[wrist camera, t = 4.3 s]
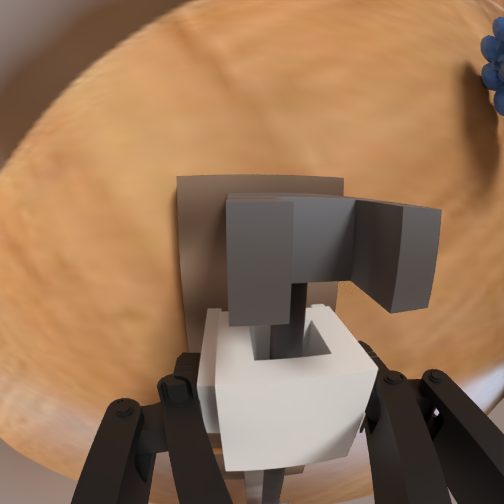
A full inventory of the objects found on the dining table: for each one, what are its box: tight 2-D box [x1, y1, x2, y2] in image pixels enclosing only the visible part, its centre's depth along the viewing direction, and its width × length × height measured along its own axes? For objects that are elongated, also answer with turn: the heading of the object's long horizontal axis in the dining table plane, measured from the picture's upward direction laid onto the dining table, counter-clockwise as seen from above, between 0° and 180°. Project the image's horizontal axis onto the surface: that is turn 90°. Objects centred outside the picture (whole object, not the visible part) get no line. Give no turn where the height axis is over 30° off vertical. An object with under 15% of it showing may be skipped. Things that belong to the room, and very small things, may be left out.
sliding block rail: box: [177, 175, 441, 504], centre depth 14 cm, size 30×10×14 cm, turn 0°
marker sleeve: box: [215, 306, 378, 471], centre depth 10 cm, size 5×5×5 cm
